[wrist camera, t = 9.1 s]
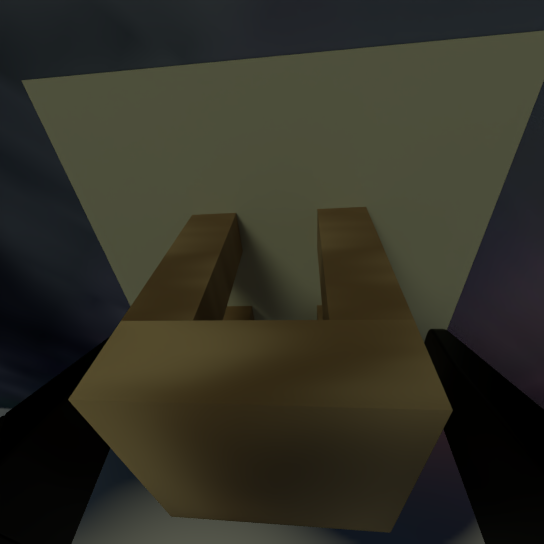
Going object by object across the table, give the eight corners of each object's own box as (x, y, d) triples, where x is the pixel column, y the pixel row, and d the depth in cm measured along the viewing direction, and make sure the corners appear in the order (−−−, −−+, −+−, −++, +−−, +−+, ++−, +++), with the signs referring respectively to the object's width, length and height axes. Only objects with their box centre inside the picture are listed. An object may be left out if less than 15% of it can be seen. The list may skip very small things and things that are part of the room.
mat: (546, 30, 7) (563, 28, 7) (422, 371, 16) (426, 382, 15) (36, 79, 9) (21, 80, 8) (168, 367, 17) (164, 376, 17)
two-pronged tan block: (365, 206, 10) (452, 409, 4) (352, 331, 13) (390, 532, 8) (192, 214, 11) (68, 399, 5) (223, 331, 14) (171, 516, 8)
